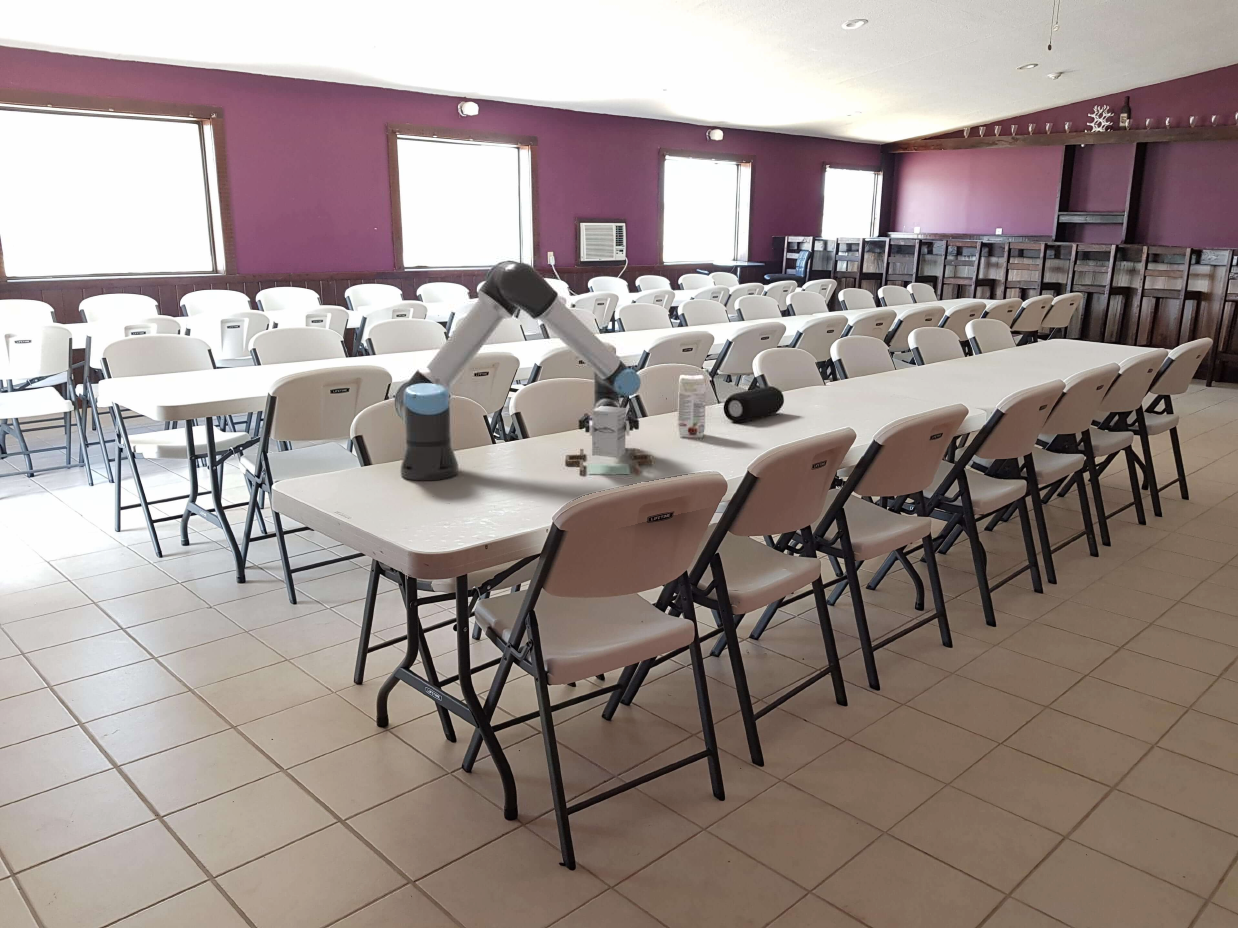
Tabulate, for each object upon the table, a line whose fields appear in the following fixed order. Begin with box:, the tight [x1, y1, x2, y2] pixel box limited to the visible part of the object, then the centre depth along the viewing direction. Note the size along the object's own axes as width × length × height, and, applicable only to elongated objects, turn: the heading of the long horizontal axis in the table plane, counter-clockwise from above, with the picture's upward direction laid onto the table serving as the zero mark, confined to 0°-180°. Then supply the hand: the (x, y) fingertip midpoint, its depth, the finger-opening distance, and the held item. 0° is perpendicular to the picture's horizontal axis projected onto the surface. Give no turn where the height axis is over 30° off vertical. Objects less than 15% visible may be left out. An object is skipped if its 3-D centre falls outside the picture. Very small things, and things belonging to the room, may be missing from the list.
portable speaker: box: [723, 385, 785, 424], centre depth 327 cm, size 26×10×10 cm, turn 139°
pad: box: [588, 463, 631, 476], centre depth 258 cm, size 11×10×1 cm
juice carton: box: [677, 374, 707, 439], centre depth 298 cm, size 8×9×19 cm
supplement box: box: [591, 406, 627, 459], centre depth 256 cm, size 7×7×13 cm
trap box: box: [564, 448, 653, 476], centre depth 264 cm, size 24×24×2 cm
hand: (609, 430), depth 251 cm, fingers closed on supplement box, 9 cm apart
